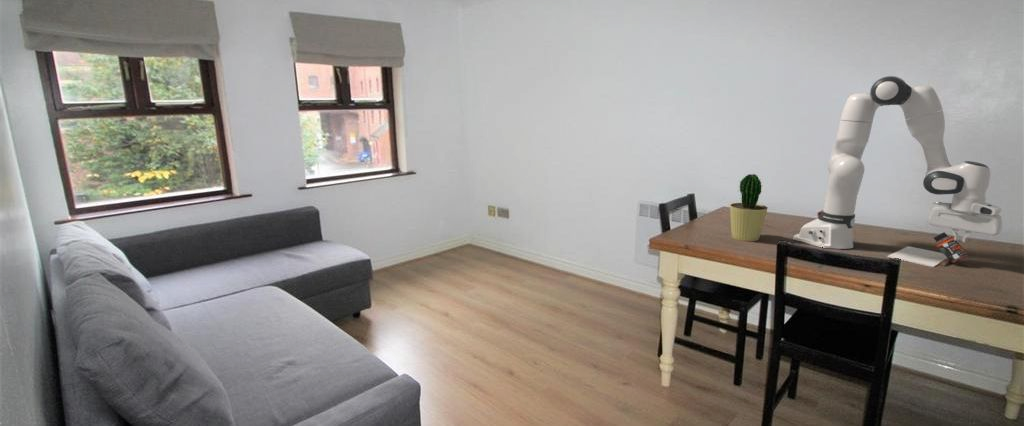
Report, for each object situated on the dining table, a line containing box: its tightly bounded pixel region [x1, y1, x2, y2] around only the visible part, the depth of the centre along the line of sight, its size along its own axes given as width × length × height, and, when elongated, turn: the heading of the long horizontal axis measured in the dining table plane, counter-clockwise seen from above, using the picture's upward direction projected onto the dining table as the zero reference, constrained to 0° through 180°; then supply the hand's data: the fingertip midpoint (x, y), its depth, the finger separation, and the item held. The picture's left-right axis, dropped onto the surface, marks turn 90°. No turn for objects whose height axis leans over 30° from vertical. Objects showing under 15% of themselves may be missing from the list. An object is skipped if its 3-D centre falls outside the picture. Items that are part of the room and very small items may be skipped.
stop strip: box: [938, 258, 952, 267], centre depth 186 cm, size 2×12×1 cm, turn 124°
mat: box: [886, 245, 947, 268], centre depth 193 cm, size 15×22×1 cm, turn 124°
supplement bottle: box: [933, 232, 970, 264], centre depth 185 cm, size 6×6×11 cm
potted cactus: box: [729, 173, 768, 242], centre depth 217 cm, size 15×15×30 cm
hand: (959, 241), depth 182 cm, fingers closed
